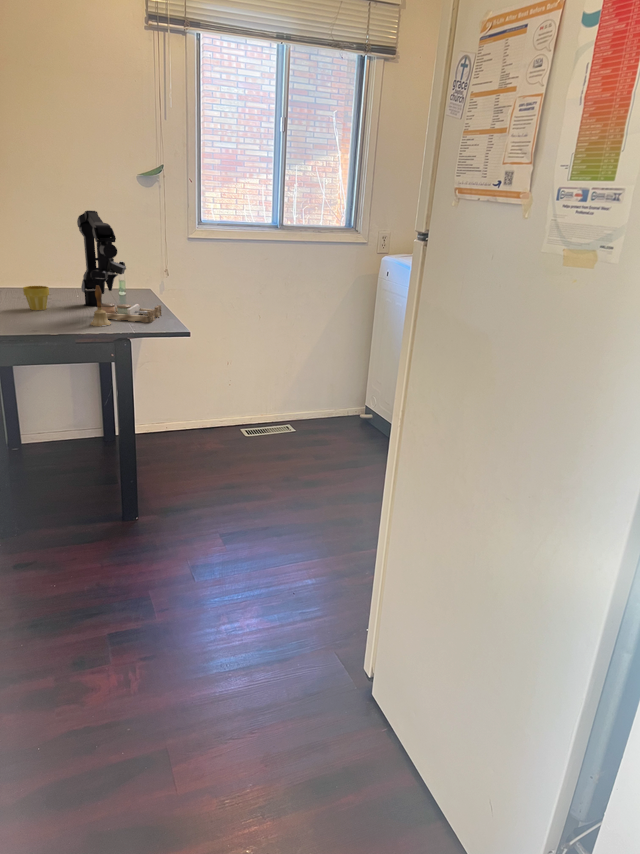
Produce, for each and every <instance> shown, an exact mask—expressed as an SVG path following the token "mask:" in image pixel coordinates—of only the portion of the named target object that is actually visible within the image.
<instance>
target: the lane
mask: <svg viewBox="0 0 640 854" xmlns="http://www.w3.org/2000/svg"><path fill="white" fill-rule="evenodd" d="M139 308H140V307H139ZM140 311H148V312H147V314H143V313H140V314H139V315H126V314H117V313H116V312H117V306H115V314H112V313H106V316H107V319H117V320H116V321H121V320H128V321H127V322H135V321H142V322H141V323H150V322H151V323H152V322H154V321H155V320H156V318H155V317H158V318H160V317H161V316H162V305H161V304H157V306H154V308H153V309H152V308H140ZM141 314H143V315H141ZM159 316H160V317H159Z"/></svg>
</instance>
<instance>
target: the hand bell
mask: <svg viewBox="0 0 640 854" xmlns="http://www.w3.org/2000/svg"><path fill="white" fill-rule="evenodd" d="M102 295H103V294H102V292H101V289H100V286H99V285H96V289H95V297H96V299H97V306H96V308H97V309H96V310H95V311H94V313H93V319H92V321H91V322H90V326H92V325H93V326H92V327H100V326H101V327H103V326H102V325H109V326H111V325H112V322H111V321H110V320H108V319H107V316H106V312H105V311H103V310H102V306H101V298H102ZM110 324H111V325H110Z"/></svg>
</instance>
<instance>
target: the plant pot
mask: <svg viewBox="0 0 640 854" xmlns="http://www.w3.org/2000/svg"><path fill="white" fill-rule="evenodd" d="M22 289H23V290H22V291H23V296H25V297H26V301H27V304H28V307H29V309H30V310H31V311H37V310H39V311H46V310H47V307H48V296H50V289H49V286H46V285H27V286H26V285H25V286H23V288H22Z"/></svg>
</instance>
